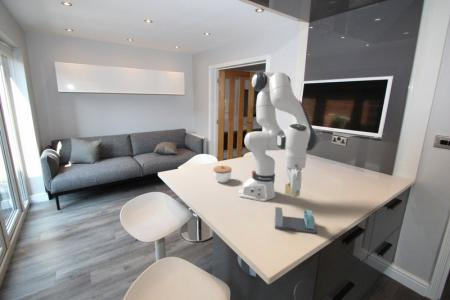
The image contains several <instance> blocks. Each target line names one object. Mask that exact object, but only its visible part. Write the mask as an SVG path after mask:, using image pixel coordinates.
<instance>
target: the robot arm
mask: <svg viewBox="0 0 450 300" xmlns="http://www.w3.org/2000/svg"><path fill="white" fill-rule="evenodd" d="M251 88H252V90H253V91H256V92H258V94H257V97H256V102H255V103H256V104H255V107H256V108H255V113H256V123H257V124H258V125H259V126H261V127H263V128H264V129H265V130H266V131H262V130H261V131H260V130H258V131H257V130H255V131H251V132H250V131H249V132H247V133H246V134H245V137H244V139H243V140H244V141H243V142H244V145H245V147H246V148H247V149H248V150H249V151H250V153H252V154H253V157H254V160H255V169H252V171H251V177H250V178H248V179H247V180H245V181H244V182H243V184H242V186H241V187H239V189H238V192H237V193H238V194H237V195H238V196H239V197H240V198H244V199H249V200H254V201H259V202H266V201H268V200H272V199H275V197H276V192H275V181H276V173H275V168H276V161H275V159H274V158H273V157H271V156H270V155H268V154H267V153H266V152H267V151H282V150H283V151H285V153H284V162H283V163H284V165H283V166H285V167H286V174H287V178H288V184H289V183H290V186H291V189H292V190H291V195H292V196H295V195H296V191H297V190H298V191H299V190H300V191H301V189H302V171H303V169H305V168H306V165H307V164H306V163H307V152H311V151H312V150H313V149H315V147H316V146H317V144H318V139H319V138H318V134H317V133H316V132H315V129H314V128H313V126H312V124H311V121H310V118H309V115H308V113H307V111H306V108H305V107H304V104H303V102H302V101H300V100H299V99H298V97H296V95H295V94H294V92H293V87H292V83H291V78H290V76H288V75H287V74H286V73H284V72H282V71H281V72H268V71H267V72H266V71H257V72H255V73H254V74H253V76H252V78H251ZM276 109H277V110H279V111H281V112H285V113H288V114H289V115H292V116H294V118H295V120H296V122H297V123H293V124H290V125H289V126H288V127H287V128H285V129H282V128H281V126H279V123H278V121H277V117H276V116H277V115H276V114H277V113H276Z"/></svg>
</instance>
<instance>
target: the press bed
mask: <svg viewBox="0 0 450 300" xmlns="http://www.w3.org/2000/svg"><path fill="white" fill-rule="evenodd" d="M274 228H275V229H276V230H285V231H292V232H300V233H301V232H302V233H311V234H316V235H317V234H318V228H317V227H316V224H315V222H314V229H307V228H306V225H305V221H304V217H303V218H302V217H295V216H293V217H292V216H284V214H283V207H278V206H275V208H274Z"/></svg>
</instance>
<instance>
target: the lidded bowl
mask: <svg viewBox="0 0 450 300" xmlns="http://www.w3.org/2000/svg"><path fill="white" fill-rule="evenodd" d="M232 170H233V169H232V167H231V166H227V165H217V166H214V167H213V177H214V179H215V180H216V181H217V182H218V183H220V184H223V183H228V181H229V180H230V179H231V176H232Z"/></svg>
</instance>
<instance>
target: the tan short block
mask: <svg viewBox="0 0 450 300" xmlns="http://www.w3.org/2000/svg"><path fill="white" fill-rule="evenodd" d="M291 190H292V189H291V186H290V183H289V182H288V183H286V184H285V189H284V194H285V195H288V196H290V197H291V198H293V199H294V198H298V197H300V195H301V194H300V193H301V189H300V190H299V191H298V190H297V191H296V195H295V196H292V195H291Z"/></svg>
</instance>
